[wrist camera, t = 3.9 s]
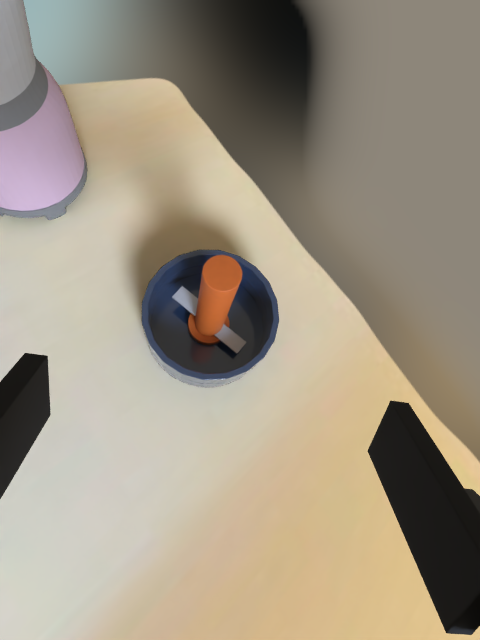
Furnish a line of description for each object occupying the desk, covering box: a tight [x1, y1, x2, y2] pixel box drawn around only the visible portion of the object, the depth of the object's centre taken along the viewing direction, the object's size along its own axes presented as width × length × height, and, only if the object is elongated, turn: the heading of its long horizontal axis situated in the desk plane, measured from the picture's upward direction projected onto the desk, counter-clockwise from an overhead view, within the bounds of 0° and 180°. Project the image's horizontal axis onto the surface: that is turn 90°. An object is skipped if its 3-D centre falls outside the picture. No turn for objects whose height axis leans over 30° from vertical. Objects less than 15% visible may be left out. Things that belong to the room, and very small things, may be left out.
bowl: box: [142, 250, 279, 387], centre depth 40 cm, size 13×13×6 cm
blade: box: [172, 255, 246, 354], centre depth 35 cm, size 9×4×14 cm, turn 52°
